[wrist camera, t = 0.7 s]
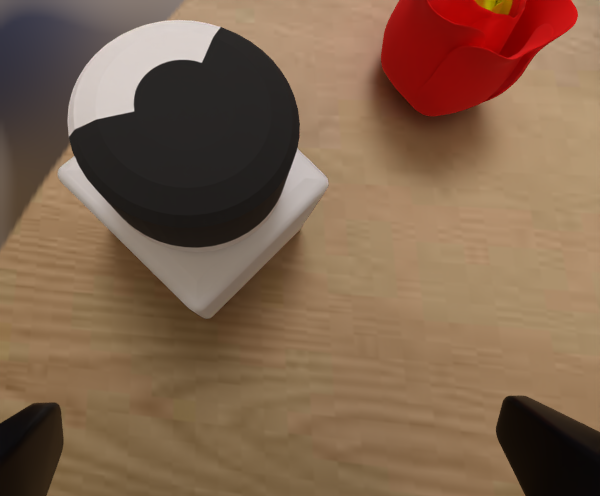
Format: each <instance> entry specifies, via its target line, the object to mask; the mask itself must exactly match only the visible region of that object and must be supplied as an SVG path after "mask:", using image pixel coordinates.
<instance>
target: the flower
mask: <svg viewBox="0 0 600 496" xmlns="http://www.w3.org/2000/svg"><path fill="white" fill-rule="evenodd" d="M577 17H578V12H577V9H576V7H575V6H574V4H573V2H572V1H571V0H399V2H398V4H397V5H396V7H395V9H394V11H393V13H392V15H391V17H390V19H389V21H388V23H387V25H386V29H385V32H384V38H383V45H382V52H381V63H382V68H383V70H384V72H385V74H386V75H387V77H388V78H389V80H390V81H391V83H392V84H393V86H394V87H395V88H396V89H397V91H398V92H399V93H400V94H401V95H402V96H403V97H404V98H405V99H406V100H407V101H408V103H409V104H410V105H411V106H412V107H413V108H414V109H415V110H416V111H418V112H419V113H421V114H423V115H426V116H440V115H446V114H451V113H455V112H459V111H462V110H465V109H468V108H471V107H473V106H476V105H478V104H480V103H483V102H485V101H488V100H490V99H492V98H494V97H496V96H498V95H500V94H502V93H503V92H504V91H506V90H507V89H508V88H509V87H511V86H512V85H513V84H514V83H515V82H516V81H517V80H518V79H519V78H520V76H521V75H522V74H523V72H524V71H525V69H526V68H527V66H528V64H529V63H530V61H531V60H532V59H533V57H534V56H535V55H536V54H537V53H538V52H539V51H540V50H541V49H542V48H543V47H545V46H546V45H547V44H549V43H550V42H552V41H553V40H555V39H556V38H558V37H560V36H561V35H563V34H564V33H565V32H567V31H568V30H569V29H571V28H572V27H573V26H574V24H575V23H576V21H577Z"/></svg>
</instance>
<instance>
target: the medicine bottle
mask: <svg viewBox="0 0 600 496" xmlns="http://www.w3.org/2000/svg"><path fill="white" fill-rule="evenodd" d="M299 127H300V123H299V114H298V108H297V105H296V101H295V97H294V95H293V92H292V90H291V88H290V85H289V83H288V81H287V80H286V78H285V77H284V75H283V73H282V72H281V70H280V69H279V68H278V67H277V65H276V64H275V63H274V62H273V60H272V59H271V58H270V57H269V56H267V55H266V54H265V53H264V52H263V51H262V50H261V49H260V48H258V47H257V46H256V45H254V44H253V43H252V42H250V41H249V40H247V39H245V38H243V37H242V36H240V35H238V34H236V33H234V32H231V31H229V30H227V29H224V28H222V27H218V26H215V25H211V24H208V23H203V22H197V21H188V20H171V21H161V22H156V23H151V24H147V25H144V26H141V27H138V28H135V29H133V30H131V31H128V32H126V33H124V34H122V35H120V36H119V37H117V38H116V39H114V40H113V41H111V42H110V43H108V44H107V45H105V46H104V47H103V48H102V49H101V50H100V51H99V52H98V53H96V54H95V55H94V57H93V58H92V59H91V60H90V61H89V62H88V64H87V65H86V66H85V68H84V69H83V71H82V73H81V74H80V76H79V77H78V80H77V82H76V84H75V87H74V89H73V91H72V95H71V99H70V103H69V108H68V133H69V139H70V143H71V147H72V151H73V154H74V157H73V158H71V159H70V160H69V161H67V162H66V163H65V164H63V165H62V166H61V167H60V168H59V170H58V178H59V179H60V181H61V182H62V183H63V184H64V185H65V186H66V187H67V188H68V189H69V190H70V191H71V192H72V193H73V194H74V195H75V196H76V197H77V198H78V199H79V200H80V201H81V202H82V203H83V204H84V205H85V206H86V207H87V208H88V209H89V210H90V211H91V212H92V213H93V214H94V215H95V216H96V217H97V218H98V219H99V220H100V221H101V222H102V223H103V224H104V225H105V226H106V227H107V228H108V229H109V230H110V231H111V232H112V233H113V234H114V235H115V236H116V237H117V238H118V239H119V240H120V241H121V242H122V243H123V244H124V245H125V246H126V247H127V248H128V249H129V250H130V251H131V252H132V253H133V254H134V255H135V256H136V257H137V258H138V259H139V260H140V261H141V262H142V263H143V264H144V265H145V266H146V267H147V268H148V269H149V270H150V271H151V272H152V273H153V274H154V275H155V276H157V277H158V278H159V279H160V280H161V281H162V282H163V283H164V284H165V285H166V286H167V287H168V288H169V289H170V290H171V291H172V292H173V293H174V294H175V295H176V296H177V297H178V298H179V299H180V300H181V301H182V302H183V303H184V304H185V305H186V306H187V307H188V308H189V309H190V310H192V311H193V312H195V313H196V314H198V315H199V316H201V317H203V318H205V319H209V318H211V317H213V316H214V315H215V314H216V313H217V312H218V311H219V310H220V309H221V308H222V307H223V306H224V305H225V304H226V303H227V302H228V301H229V300H230V299H231V298H232V297H233V296H234V295H235V294H236V293H237V292H238V291H239V290H240V289H241V288H242V287H243V286H244V285H245V284H246V283H247V282H248V281H249V280H250V279H251V278H252V277H253V276H254V275H255V274H256V273H257V272H258V271H259V270H260V269H261V268H262V267H263V266H264V265H265V264H266V263H267V262H268V261H269V260H270V259H271V258H272V257H273V256H274V255H275V254H276V253H277V252H278V251H279V250H280V249H281V248H282V247H283V246H284V245H285V244H286V243H287V242H288V241H289V240H290V239H291V238H292V237H293V236H294V235H295V234H296V233H297V232H298V231H299V230H300V229H301V227H302V226H303V224H304V223H305V221H306V220H307V218H308V217H309V215H310V214H311V212H312V211H313V209H314V208H315V206H316V205H317V203H318V202H319V200H320V199H321V197H322V196H323V194H324V192H325V191H326V189H327V188H328V179H327V177H326V176H325V175H324V174H323V173H322V172H321V171H320V170H319V169H318V168H317V167H316V166H315V165H314V164H313V163H312V162H311V161H310V160H309V159H308V158H307V157H306V156H305V155H304V154H303V153H302V152H301V151H300V150H298V149H297V147H298V141H299Z"/></svg>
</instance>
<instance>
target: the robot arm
mask: <svg viewBox="0 0 600 496" xmlns="http://www.w3.org/2000/svg"><path fill="white" fill-rule="evenodd" d="M496 434H497V438H498V440H499V443H500V445H501V447H502V449H503V451H504V453H505V455H506V457H507V459H508V461H509V463H510V465H511V467H512V469H513V471H514V473H515V475H516V477H517V479H518V481H519V483H520V485H521V487H522V490H523V492H524V494H525V496H600V432H599V431H596V430H594V429H592V428H590V427H588V426H586V425H584V424H582V423H580V422H578V421H576V420H574V419H572V418H570V417H568V416H566V415H564V414H562V413H560V412H558V411H556V410H554V409H551V408H549V407H547V406H545V405H543V404H541V403H539V402H537V401H535V400H533V399H531V398H529V397H527V396H507V397H506V398H505V399H504V400H503V403H502V407H501V411H500V414H499V418H498V422H497V426H496ZM62 449H63V429H62V418H61V409H60V406H59V405H58V404H57V403H34V404H32V405H30V406H28V407H26V408H25V409H23V410H21V411H20V412H18V413H17V414H15V415H13V416H12V417H10V418H8V419H7V420H5V421H4V422H2V423H0V496H46V495H47V492H48V490H49V487H50V484H51V481H52V478H53V475H54V473H55V470H56V467H57V464H58V461H59V459H60V456H61V453H62Z"/></svg>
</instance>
